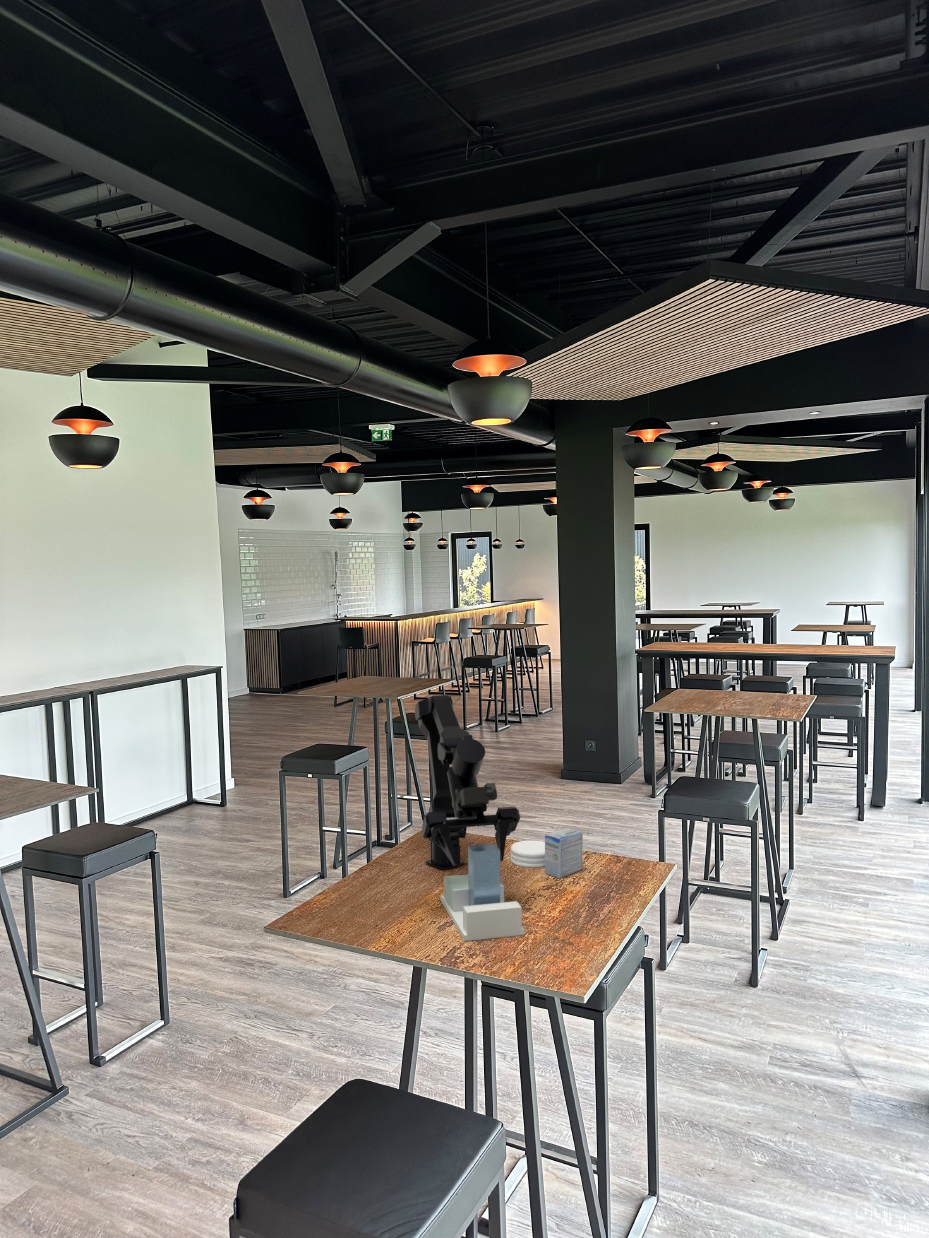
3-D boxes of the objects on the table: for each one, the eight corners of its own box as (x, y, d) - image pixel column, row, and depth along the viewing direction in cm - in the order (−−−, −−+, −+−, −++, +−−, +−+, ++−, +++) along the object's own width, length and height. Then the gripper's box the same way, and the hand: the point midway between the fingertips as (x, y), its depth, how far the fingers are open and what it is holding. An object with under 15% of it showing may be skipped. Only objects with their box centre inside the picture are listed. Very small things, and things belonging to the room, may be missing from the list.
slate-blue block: (468, 914, 153) (468, 845, 153) (494, 911, 154) (494, 843, 154) (473, 922, 149) (473, 851, 149) (500, 920, 150) (500, 849, 150)
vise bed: (440, 899, 163) (440, 875, 163) (493, 894, 166) (493, 870, 165) (464, 941, 143) (464, 912, 143) (524, 934, 146) (524, 906, 146)
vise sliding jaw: (444, 896, 162) (443, 876, 162) (492, 891, 164) (492, 872, 164) (453, 911, 154) (453, 890, 154) (504, 906, 157) (504, 885, 156)
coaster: (506, 866, 184) (506, 851, 183) (515, 853, 193) (515, 838, 193) (550, 870, 181) (550, 854, 181) (557, 856, 190) (557, 841, 190)
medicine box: (567, 865, 183) (566, 827, 183) (583, 870, 180) (583, 831, 180) (544, 874, 178) (544, 834, 178) (560, 879, 175) (560, 838, 174)
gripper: (424, 771, 157) (436, 845, 147) (517, 766, 162) (535, 837, 151) (417, 801, 165) (428, 874, 155) (506, 795, 170) (522, 866, 159)
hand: (478, 862), depth 155 cm, fingers open, 9 cm apart
